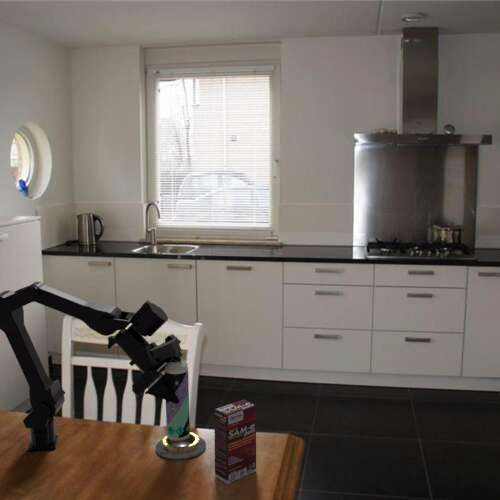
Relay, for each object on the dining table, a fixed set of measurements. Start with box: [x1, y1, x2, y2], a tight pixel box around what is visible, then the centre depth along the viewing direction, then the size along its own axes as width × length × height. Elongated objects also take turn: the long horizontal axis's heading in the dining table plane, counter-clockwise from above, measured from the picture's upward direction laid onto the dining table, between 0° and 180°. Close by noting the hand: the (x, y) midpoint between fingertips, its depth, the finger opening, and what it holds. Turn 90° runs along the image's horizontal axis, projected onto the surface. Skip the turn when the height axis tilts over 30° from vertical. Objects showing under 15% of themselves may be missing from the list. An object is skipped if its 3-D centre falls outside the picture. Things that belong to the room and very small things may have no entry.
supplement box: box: [213, 399, 257, 485], centre depth 139 cm, size 9×5×16 cm, turn 131°
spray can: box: [165, 355, 191, 441], centre depth 149 cm, size 6×6×20 cm
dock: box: [155, 432, 207, 461], centre depth 152 cm, size 12×12×2 cm
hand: (182, 397), depth 149 cm, fingers closed on spray can, 5 cm apart
